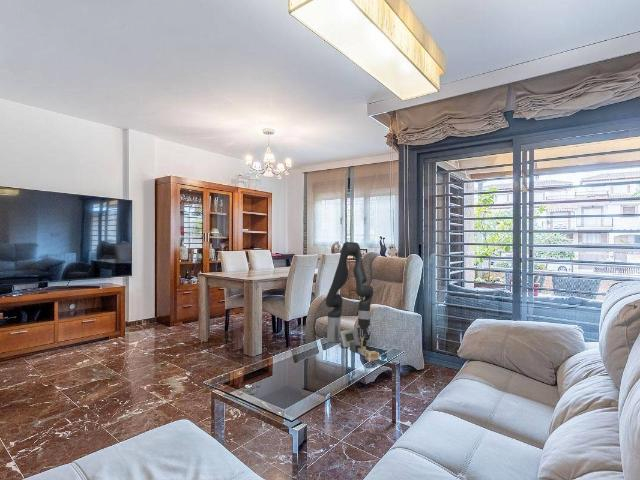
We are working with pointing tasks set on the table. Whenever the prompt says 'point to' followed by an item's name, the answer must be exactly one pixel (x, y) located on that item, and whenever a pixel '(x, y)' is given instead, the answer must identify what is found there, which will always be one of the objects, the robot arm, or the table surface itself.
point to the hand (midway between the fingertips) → (363, 345)
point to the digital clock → (348, 337)
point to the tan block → (371, 355)
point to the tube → (361, 348)
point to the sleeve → (354, 346)
